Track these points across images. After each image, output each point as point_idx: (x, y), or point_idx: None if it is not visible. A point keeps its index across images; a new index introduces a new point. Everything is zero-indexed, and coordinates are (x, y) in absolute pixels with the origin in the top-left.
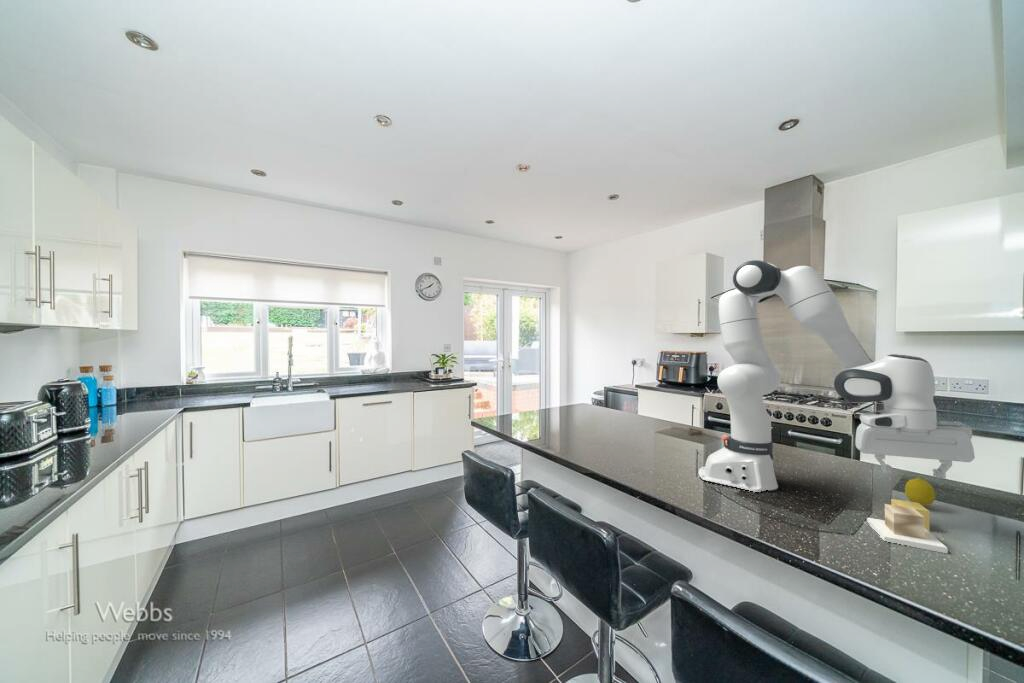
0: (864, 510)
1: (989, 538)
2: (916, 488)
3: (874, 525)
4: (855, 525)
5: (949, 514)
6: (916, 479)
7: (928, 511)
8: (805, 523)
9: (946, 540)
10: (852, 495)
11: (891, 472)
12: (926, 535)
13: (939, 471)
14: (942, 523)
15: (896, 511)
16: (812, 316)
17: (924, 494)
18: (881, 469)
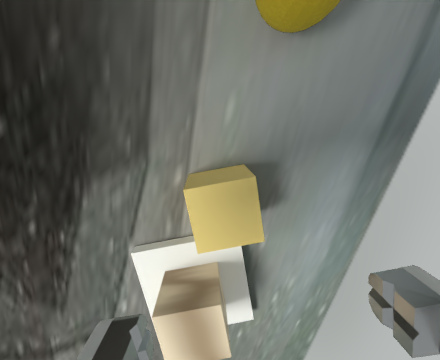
0: (131, 160)
1: (356, 177)
2: (293, 2)
3: (144, 292)
4: (113, 280)
5: (338, 35)
6: None
7: (262, 240)
8: (23, 334)
9: (268, 246)
10: (98, 16)
11: (152, 349)
12: (233, 282)
13: (423, 355)
14: (294, 136)
15: (174, 357)
16: None
17: (307, 22)
18: (99, 329)
